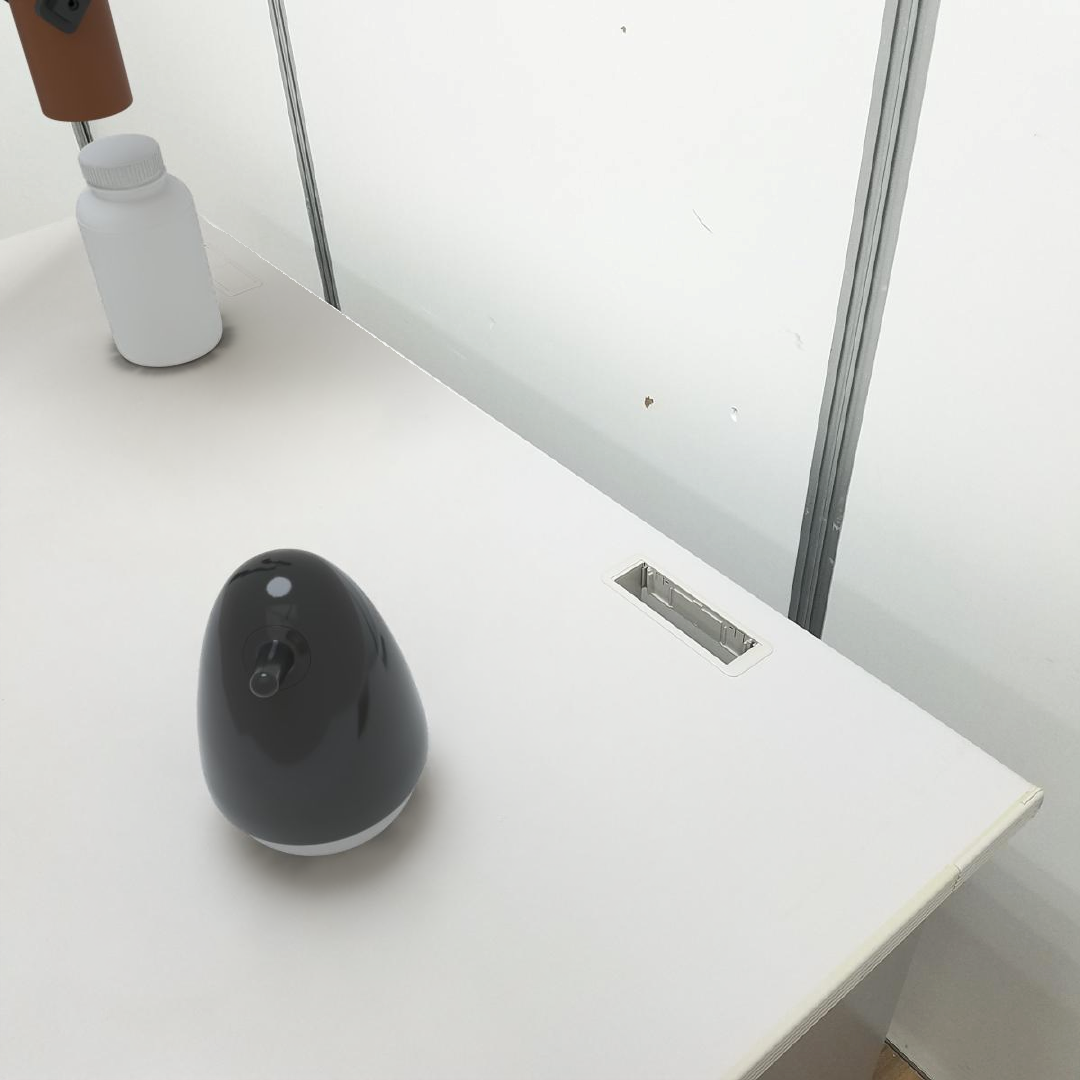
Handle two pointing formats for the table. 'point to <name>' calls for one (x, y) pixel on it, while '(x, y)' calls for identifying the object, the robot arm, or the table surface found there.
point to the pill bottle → (146, 253)
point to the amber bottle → (74, 63)
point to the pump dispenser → (306, 707)
